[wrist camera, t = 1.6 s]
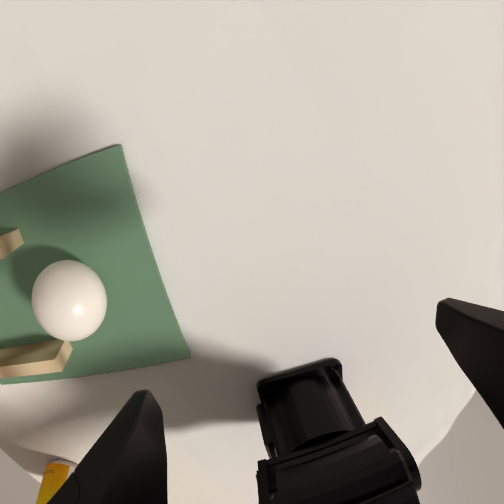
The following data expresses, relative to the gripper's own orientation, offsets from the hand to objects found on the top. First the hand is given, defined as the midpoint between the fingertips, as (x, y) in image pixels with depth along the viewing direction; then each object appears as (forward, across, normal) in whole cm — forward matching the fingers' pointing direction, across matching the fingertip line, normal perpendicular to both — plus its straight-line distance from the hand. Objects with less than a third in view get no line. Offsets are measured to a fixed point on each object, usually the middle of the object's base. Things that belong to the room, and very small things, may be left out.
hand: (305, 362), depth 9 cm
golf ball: (+8, +11, 0) cm, 14 cm away
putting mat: (+11, +15, 0) cm, 18 cm away
